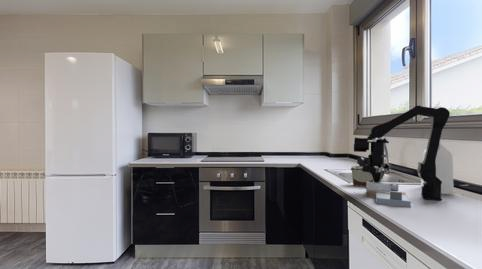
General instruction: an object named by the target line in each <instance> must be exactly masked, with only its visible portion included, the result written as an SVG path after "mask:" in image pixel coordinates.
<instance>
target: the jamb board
mask: <svg viewBox="0 0 482 269" xmlns="http://www.w3.org/2000/svg"><path fill="white" fill-rule="evenodd" d="M401 192H402V195H407V193H406V192H404V191H401ZM365 193H366V194H365V196H366V197H369V198H376V193H385V194H390V192H385V191H374V190H366V191H365Z"/></svg>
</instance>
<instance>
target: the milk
mask: <svg viewBox="0 0 482 269" xmlns="http://www.w3.org/2000/svg"><path fill="white" fill-rule="evenodd" d="M441 142H442V141H441V140H440V142H439V147H438V151H437V156H436V160H435V164H436V177H437V178H438V179H440V180H441V181H442V184H441V195H453V194H454V192H455V191H454V163H453V162H454V161H453V160H454V159H453V154H452V152H450V150H448V149H447V148H446V147H445V146H444V145H443V144H441ZM425 154H426V149H424V150H423V152H422V159H421V161H422V162H423V160H424V158H425ZM422 162H421V163H422ZM423 183H425V182H424V181H423V179H422V178H421V177H420V187H421V186H423Z"/></svg>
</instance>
